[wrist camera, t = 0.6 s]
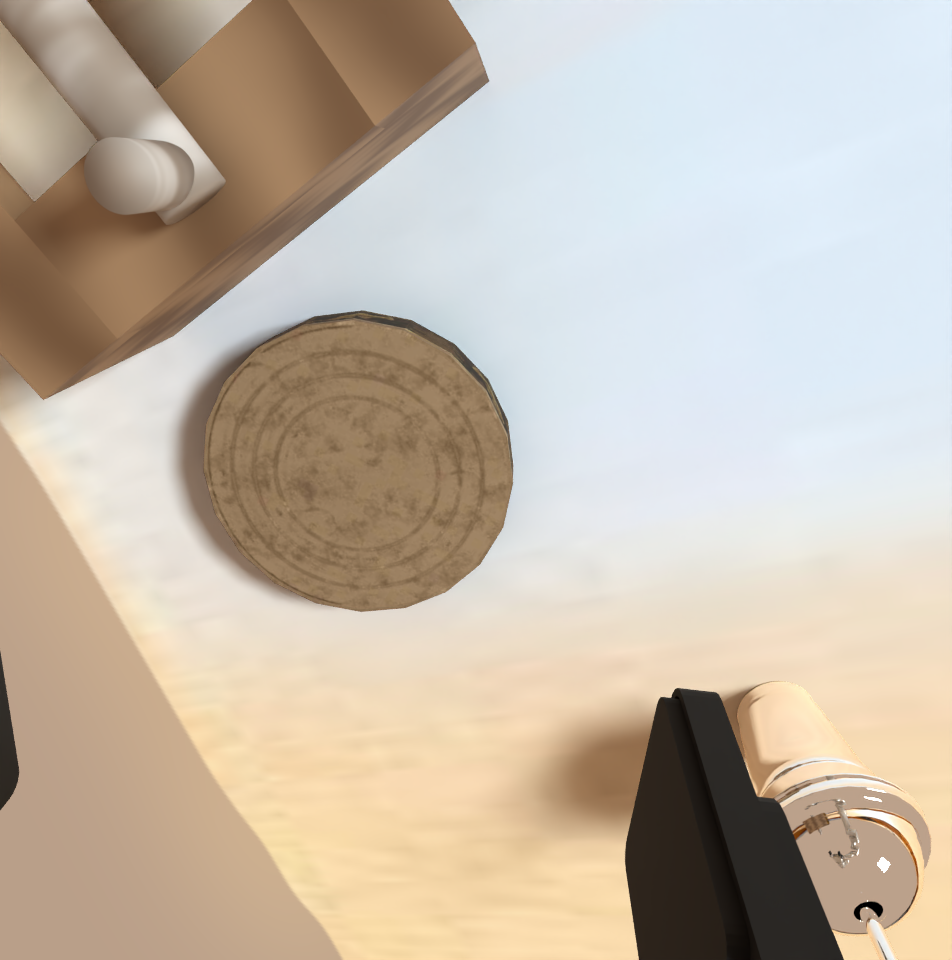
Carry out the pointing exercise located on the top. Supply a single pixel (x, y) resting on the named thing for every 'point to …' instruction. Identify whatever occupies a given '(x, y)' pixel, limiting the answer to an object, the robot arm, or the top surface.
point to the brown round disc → (360, 461)
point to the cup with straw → (836, 813)
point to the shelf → (267, 150)
